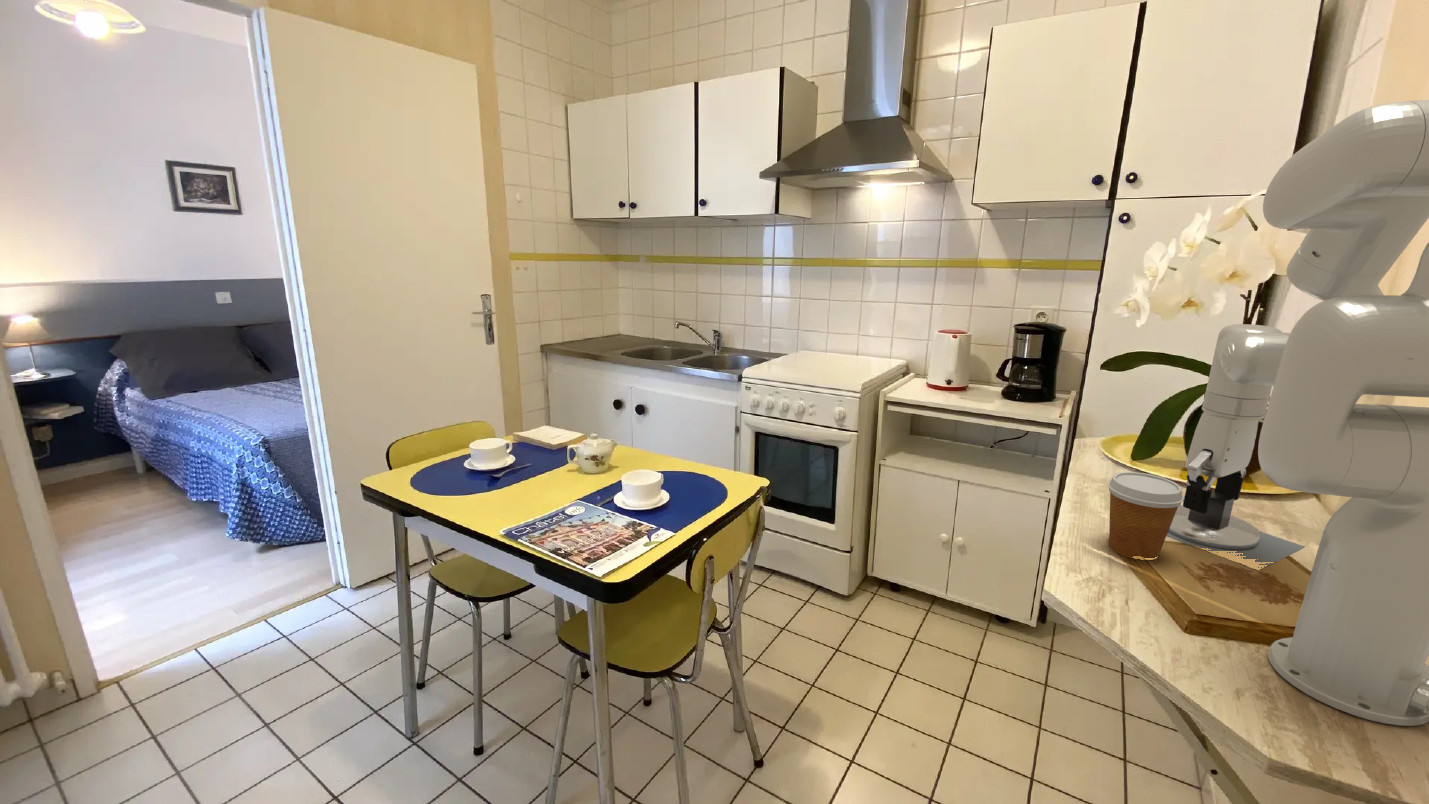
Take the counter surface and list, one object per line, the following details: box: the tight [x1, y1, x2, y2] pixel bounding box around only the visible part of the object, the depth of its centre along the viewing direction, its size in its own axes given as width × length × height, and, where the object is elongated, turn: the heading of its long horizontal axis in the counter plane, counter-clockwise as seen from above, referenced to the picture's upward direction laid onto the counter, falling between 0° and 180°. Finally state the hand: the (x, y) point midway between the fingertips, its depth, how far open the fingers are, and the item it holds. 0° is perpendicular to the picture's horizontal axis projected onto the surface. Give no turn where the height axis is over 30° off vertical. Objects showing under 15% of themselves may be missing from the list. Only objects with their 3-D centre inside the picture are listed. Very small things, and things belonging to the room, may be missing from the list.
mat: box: [1166, 504, 1306, 568], centre depth 98 cm, size 20×15×1 cm
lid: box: [1168, 490, 1261, 551], centre depth 97 cm, size 13×13×6 cm
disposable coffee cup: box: [1107, 471, 1185, 559], centre depth 91 cm, size 10×10×12 cm
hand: (1210, 503), depth 97 cm, fingers open, 9 cm apart
